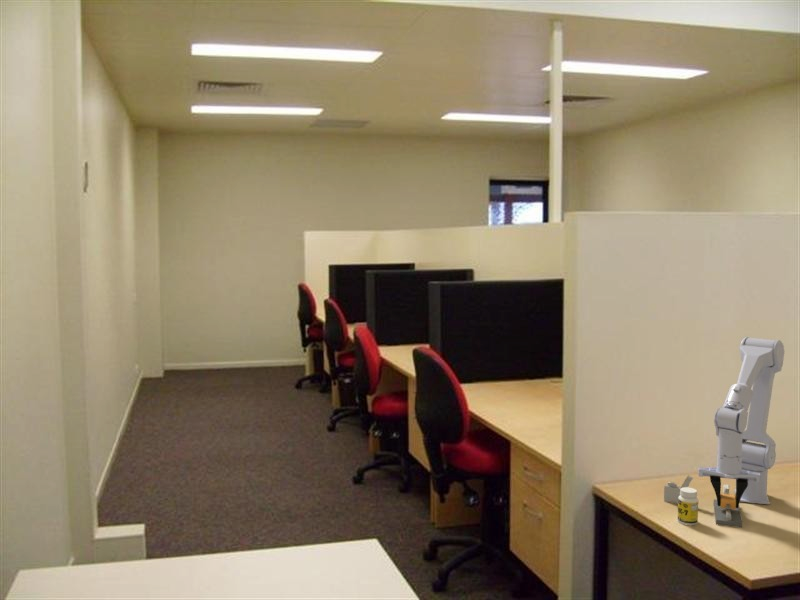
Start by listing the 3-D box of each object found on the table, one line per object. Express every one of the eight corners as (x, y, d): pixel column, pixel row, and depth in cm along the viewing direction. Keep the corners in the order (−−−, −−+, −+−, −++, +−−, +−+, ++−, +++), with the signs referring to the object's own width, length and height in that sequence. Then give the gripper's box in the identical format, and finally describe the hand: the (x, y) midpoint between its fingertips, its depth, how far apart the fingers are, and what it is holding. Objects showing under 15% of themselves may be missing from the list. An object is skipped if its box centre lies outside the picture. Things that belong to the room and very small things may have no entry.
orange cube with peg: (719, 502, 195) (720, 493, 194) (734, 504, 193) (734, 495, 193) (720, 509, 190) (721, 500, 189) (736, 511, 188) (736, 502, 188)
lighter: (663, 501, 203) (664, 472, 202) (665, 499, 204) (666, 470, 203) (690, 506, 199) (691, 477, 198) (692, 504, 200) (693, 475, 199)
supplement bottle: (673, 520, 190) (674, 488, 189) (687, 517, 191) (688, 485, 191) (687, 526, 185) (688, 494, 184) (701, 523, 187) (702, 491, 186)
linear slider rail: (713, 503, 201) (714, 482, 200) (737, 506, 198) (738, 485, 198) (716, 524, 187) (716, 501, 186) (742, 527, 184) (743, 504, 184)
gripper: (699, 456, 190) (697, 507, 191) (762, 461, 185) (760, 514, 186) (698, 448, 196) (697, 498, 197) (759, 453, 191) (757, 504, 192)
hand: (727, 505), depth 192 cm, fingers closed on orange cube with peg, 3 cm apart
